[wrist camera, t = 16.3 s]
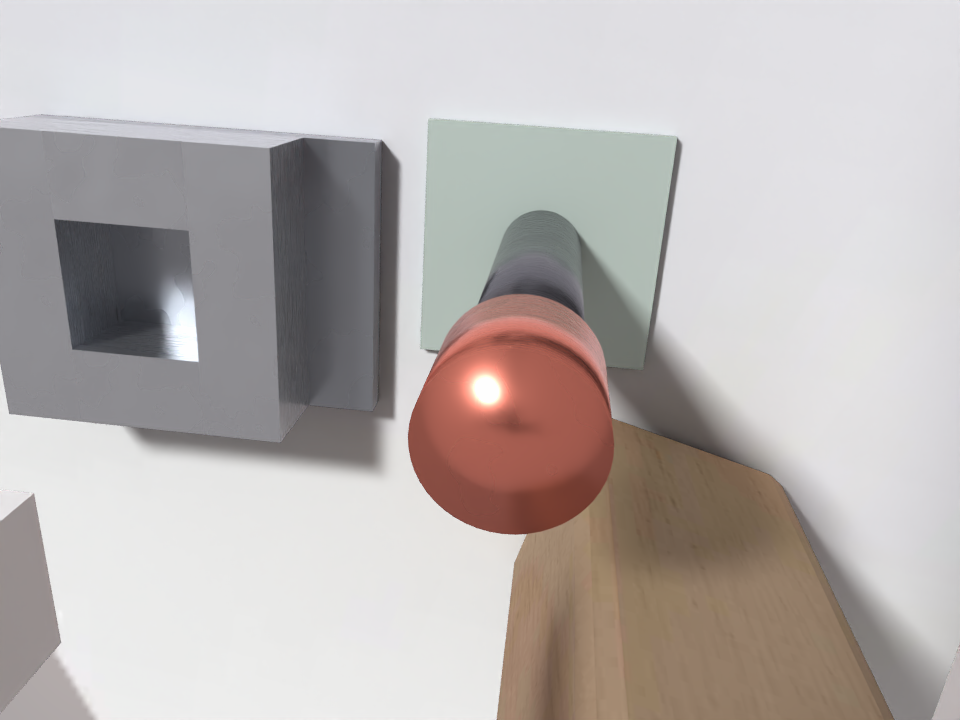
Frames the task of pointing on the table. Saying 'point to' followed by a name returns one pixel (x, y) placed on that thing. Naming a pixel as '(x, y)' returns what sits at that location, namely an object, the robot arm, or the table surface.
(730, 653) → the wooden block
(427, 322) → the mat
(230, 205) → the grey hollow block
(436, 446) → the red capped rod
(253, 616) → the table surface
